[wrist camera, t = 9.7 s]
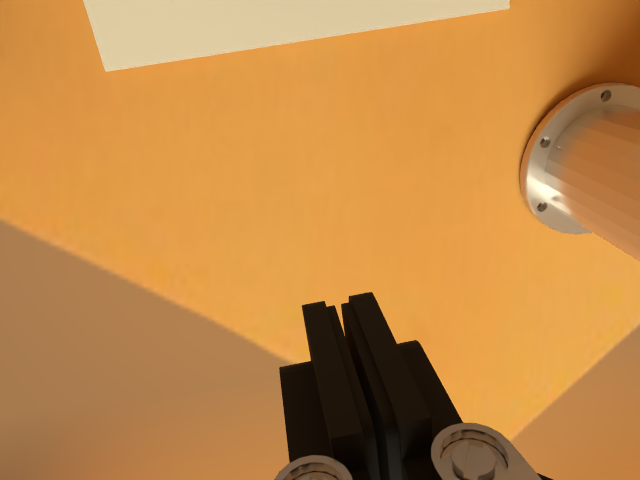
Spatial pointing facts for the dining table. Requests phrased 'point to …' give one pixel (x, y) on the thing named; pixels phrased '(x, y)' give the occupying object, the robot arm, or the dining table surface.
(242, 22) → the card
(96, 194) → the dining table surface
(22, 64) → the dining table surface
